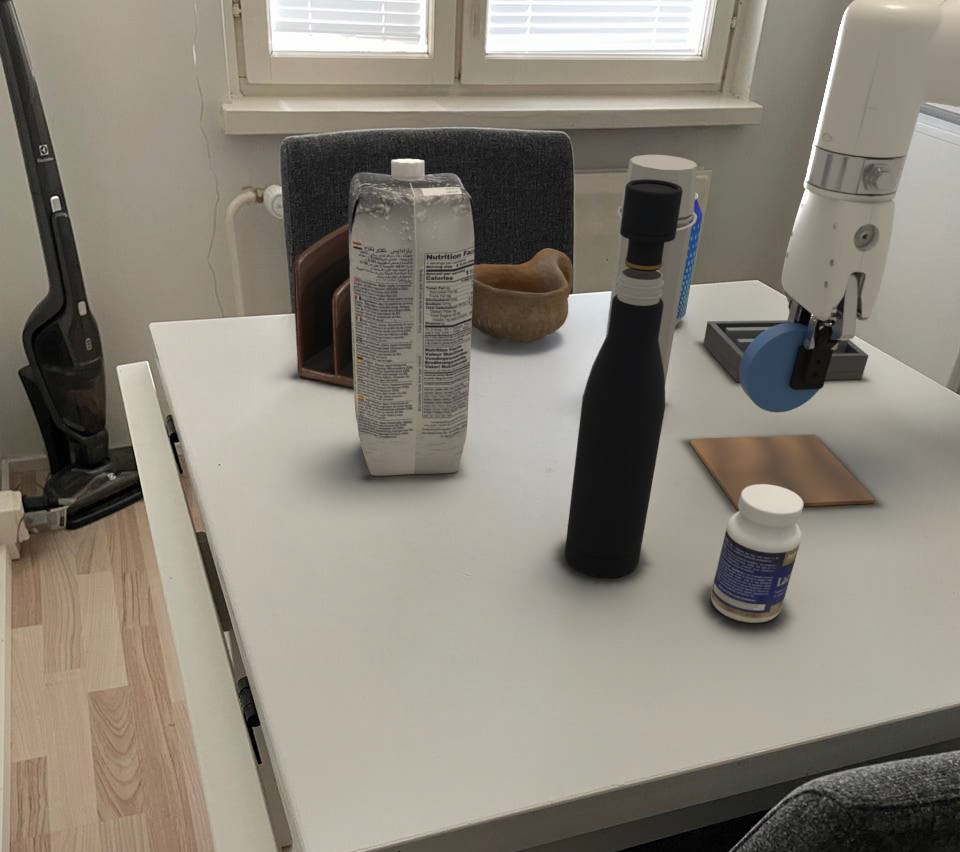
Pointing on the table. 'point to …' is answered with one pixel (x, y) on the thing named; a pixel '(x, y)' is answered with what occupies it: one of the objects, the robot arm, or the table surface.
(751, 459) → the brown square board
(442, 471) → the juice carton
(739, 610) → the pill bottle
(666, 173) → the water bottle
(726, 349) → the dish rack
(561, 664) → the table surface
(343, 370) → the letter holder
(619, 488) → the wine bottle
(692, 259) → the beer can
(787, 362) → the blue lid
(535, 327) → the bowl
